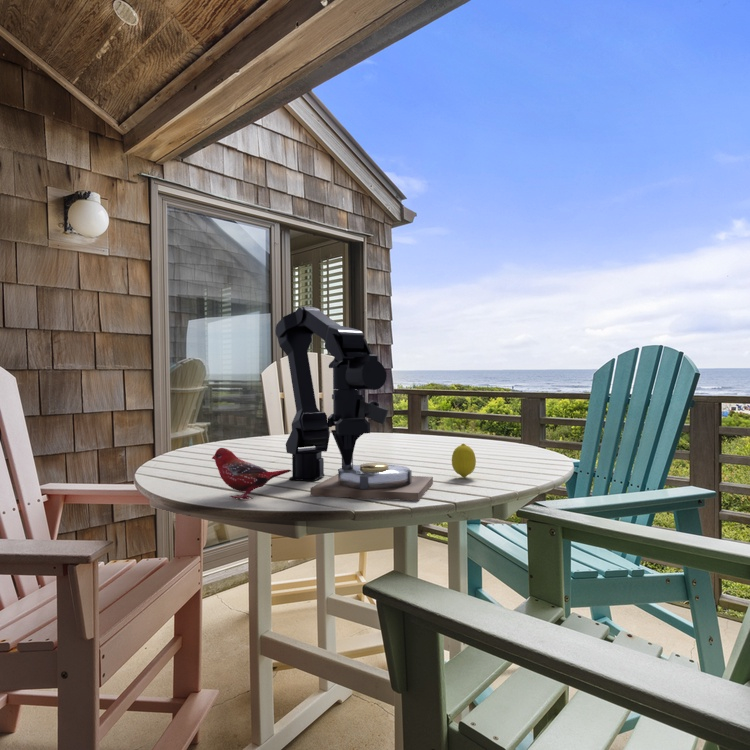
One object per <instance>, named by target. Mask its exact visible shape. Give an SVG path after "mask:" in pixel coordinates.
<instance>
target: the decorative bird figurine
mask: <svg viewBox="0 0 750 750" xmlns="http://www.w3.org/2000/svg"><path fill="white" fill-rule="evenodd" d="M211 460H214V461H215V462H214V463H215V465H216V467H217V470H218V473H219V476H220V478H221V480H222V481H223V482H224V483H225V484H226V485H227V486H229V488H231V489H233V490H235V491H238V492H242V494H241V495H235V496H234V495H229V498H230V497H231V498H234V499H236V498H243V499H242V500H250V499H254V498H252V497H251V496H250V495H249V494H250V493H251V492H252V491H254V490H255V489H258V488H262V487H264V486H265V485H266V484H267V483H268V482H269V481H270V480H272V479H273V478H274V479H275V478H276V477H278V476H279V477H280V476H282V475H284V474H287V473H290V472H292V469H283V470H274V471H268V470H266V469H264V468H263V467H261V466H259V465H256V464H255V463H251V462H248V461H245V460H243V459H241V458H239V457H238V456H237V455H236V454H234V453H233V452H232V450H229V449H227V448H225V447H219V448H218V449H217V450H216V451H215V453H214V455H213V456H212V457H211ZM243 492H244V493H243Z"/></svg>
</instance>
